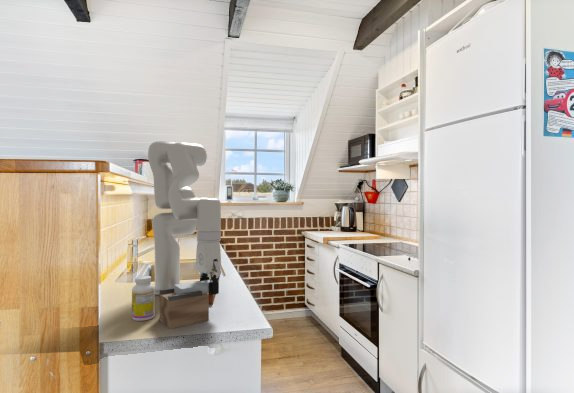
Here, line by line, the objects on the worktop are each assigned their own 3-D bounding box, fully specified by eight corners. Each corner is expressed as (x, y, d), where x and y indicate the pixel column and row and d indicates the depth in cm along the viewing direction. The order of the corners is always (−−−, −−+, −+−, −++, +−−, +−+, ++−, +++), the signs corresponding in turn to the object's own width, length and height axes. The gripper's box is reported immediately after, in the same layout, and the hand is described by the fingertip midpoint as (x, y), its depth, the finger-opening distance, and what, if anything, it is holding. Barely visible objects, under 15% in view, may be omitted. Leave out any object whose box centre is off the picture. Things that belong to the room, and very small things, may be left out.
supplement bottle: (136, 314, 115) (135, 275, 115) (157, 314, 115) (157, 274, 115) (128, 322, 108) (128, 280, 108) (151, 321, 109) (151, 279, 109)
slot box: (159, 319, 111) (159, 289, 111) (196, 311, 118) (196, 283, 118) (169, 328, 103) (169, 297, 103) (208, 320, 110) (208, 290, 110)
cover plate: (174, 292, 112) (174, 284, 112) (209, 286, 119) (209, 279, 119) (181, 297, 106) (181, 289, 106) (218, 291, 113) (218, 283, 113)
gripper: (188, 234, 120) (188, 288, 120) (208, 240, 106) (209, 300, 106) (209, 233, 124) (209, 284, 124) (231, 238, 110) (231, 296, 110)
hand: (209, 291), depth 115 cm, fingers closed on cover plate, 6 cm apart
